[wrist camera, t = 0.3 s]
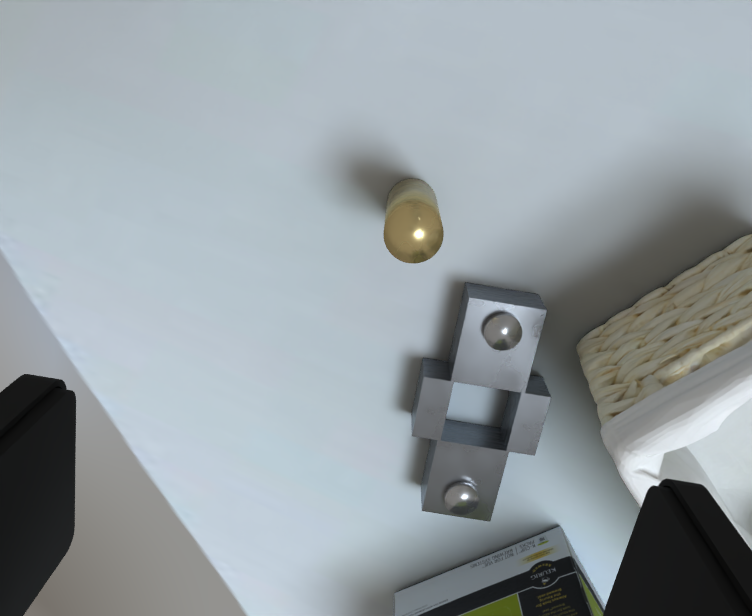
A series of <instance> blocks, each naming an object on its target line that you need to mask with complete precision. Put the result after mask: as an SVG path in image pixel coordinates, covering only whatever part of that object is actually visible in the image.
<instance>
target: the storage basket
mask: <svg viewBox="0 0 752 616" xmlns="http://www.w3.org/2000/svg"><path fill="white" fill-rule="evenodd" d="M576 350H577V353H578V355H579V358H580V361H581V362H580V363H581V367H582V369H583V372H584V375H585V377H586V378H587V380H588V383H589V389H590V391H591V394H592V395H593V397H594V401H595V403H596V404H597V406H598V407H597V413H598V417H599V420H600V422H601V429H600V434H601V437H602V440H603V443H604V445H605V447H606V449H607V450H608V452H609V454H610V455H611V457H612V459H613V460H614V462H615V465H616V467H617V470H618V472H619V474H620V476H621V478H622V480H623V482H624V483H625V485H626V486H627V488H628V489H629V491H630V492H631V494H632V495H633V497H634V498H635V500H636V501H637V503H638V504H639V506H640V507H642V504H643V501H644V498H645V496H646V493H647V491H648V489H649V488H650V487H651V486H653V485H655V486H658V485H659V483H660V482H661V481H662V480H664V479H666V478H667V479H673V480H679V481H685V482H692V483H698V484H702V485H704V486H705V487H706V488H707V490H708V491H709V492H710V494H711V495H712V497H713V498H714V499H715V501H716V502H717V503H718V505H719V506H720V508H721V509H722V510H723V512H724V513H725V514H726V516H727V517H728V519H729V520H730V521H731V523H732V524H733V526H734V527H735V528H736V530H737V531H738V532H739V534H740V535H741V537H742V538H743V539H744V541H745V542H746V543H747V545H748V546H749V548H750V549H751V550H752V234H750V235H746V236H744V237H741V238H739V239H738V240H736V241H735V242H733V243H732V244H730V245H729V246H727V247H726V248H725V249H724V250H722V251H719V252H716V253H714V254H712V255H711V256H709V257H708V258H706V259H705V260H703V261H702V262H701V263H699V264H698V265H697V266H695V267H693V268H691V269H689V270H686V271H685V272H683V273H682V274H680V275H679V276H677V277H676V278H674V279H673V280H672V281H671V282H670V283H669V284H668V285H667V286H665V287H660V288H658V289H656V290H654V291H652V292H650V293H649V294H647V295H645V296H644V297H642V298H641V299H640V300H639V301H638V302H636V303H635V304H634V305H633V307H631V308H629V309H626V310H624V311H622V312H620V313H618V314H616V315H615V316H613V317H612V318H610V319H609V320H608V321H607V322H606V323H605V324H604V325H601V326H599V327H597V328H596V329H594V330H592V331H591V332H589V333H588V334H586V335H585V336H584V337H583V338H582V339H581V340H580V342H579V343H578V345H577V347H576Z"/></svg>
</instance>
